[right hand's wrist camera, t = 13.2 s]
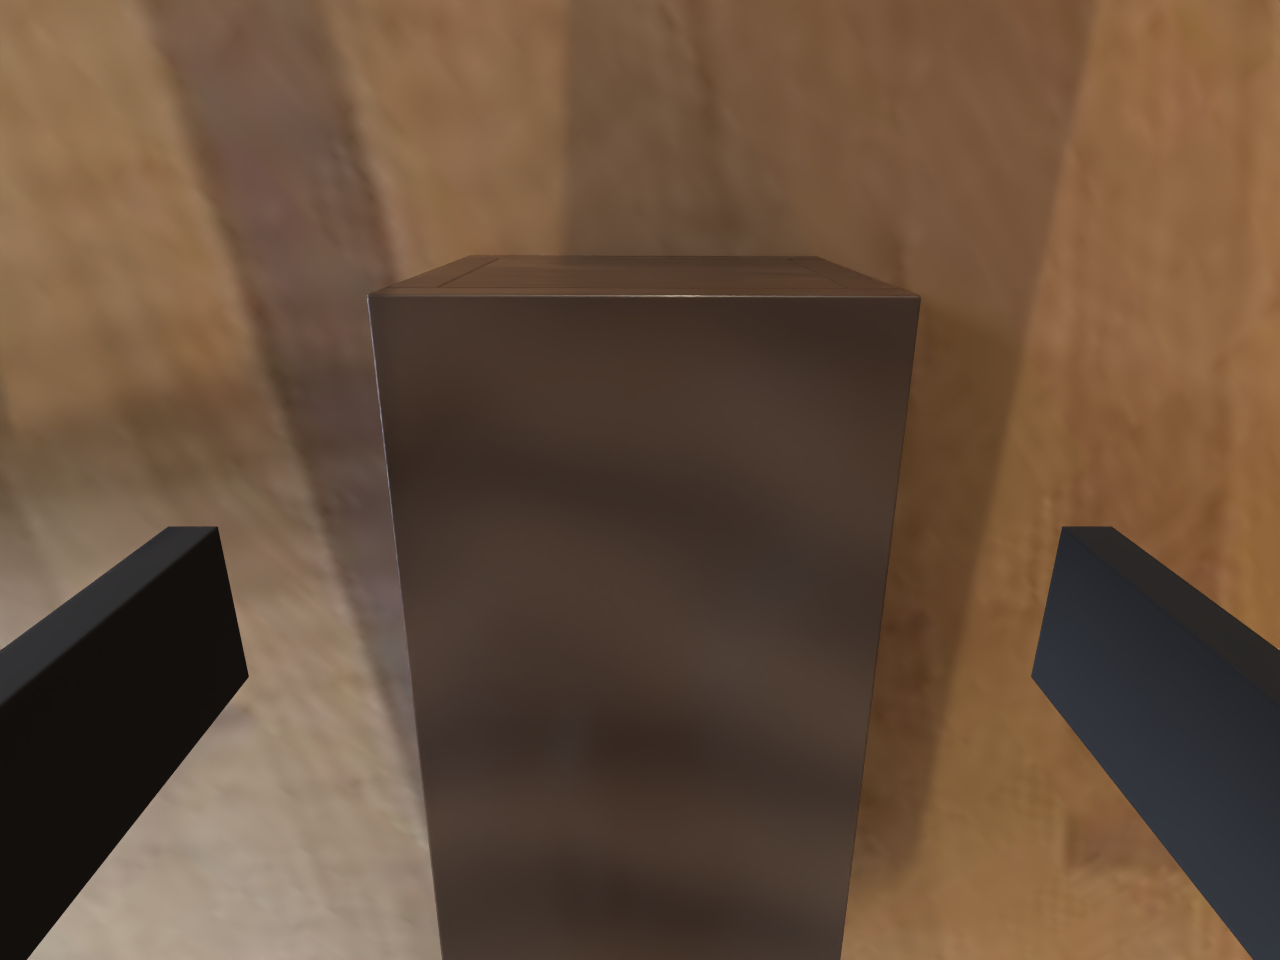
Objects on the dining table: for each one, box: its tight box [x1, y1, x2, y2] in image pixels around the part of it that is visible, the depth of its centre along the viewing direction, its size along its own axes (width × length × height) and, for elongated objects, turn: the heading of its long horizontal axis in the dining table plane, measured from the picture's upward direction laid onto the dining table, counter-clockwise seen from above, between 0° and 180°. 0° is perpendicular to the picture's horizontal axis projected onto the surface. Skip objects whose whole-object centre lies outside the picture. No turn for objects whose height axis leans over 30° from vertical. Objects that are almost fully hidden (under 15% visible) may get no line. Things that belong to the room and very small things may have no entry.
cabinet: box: [367, 256, 921, 960], centre depth 23 cm, size 21×10×9 cm, turn 0°
